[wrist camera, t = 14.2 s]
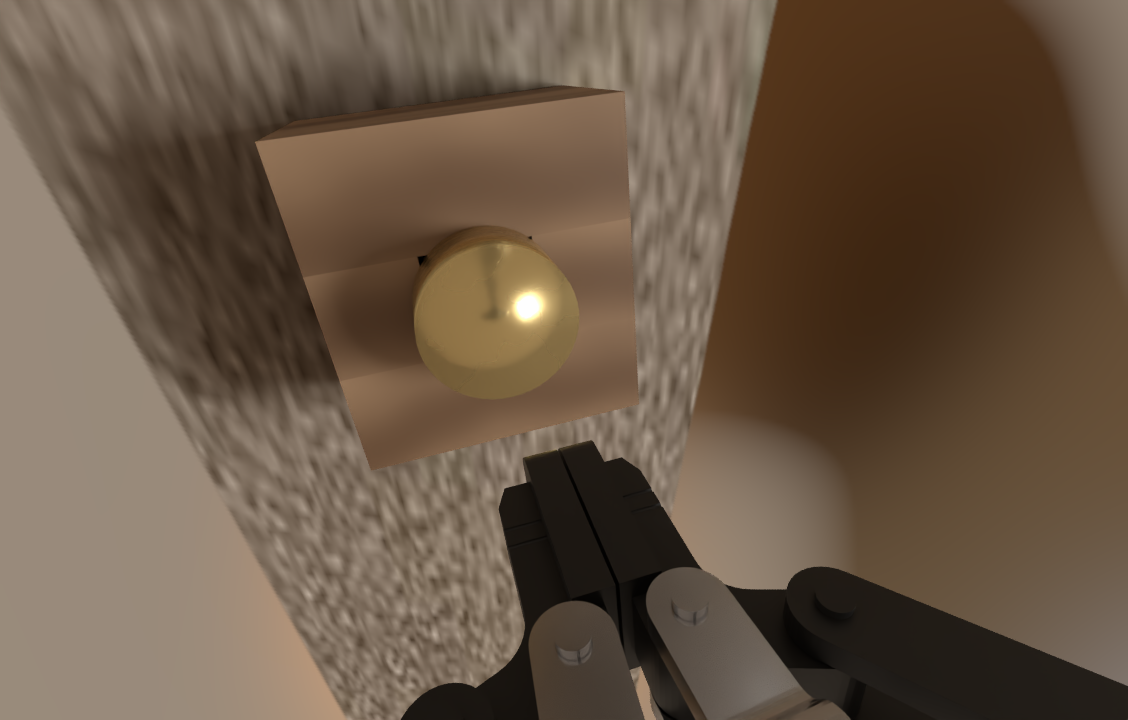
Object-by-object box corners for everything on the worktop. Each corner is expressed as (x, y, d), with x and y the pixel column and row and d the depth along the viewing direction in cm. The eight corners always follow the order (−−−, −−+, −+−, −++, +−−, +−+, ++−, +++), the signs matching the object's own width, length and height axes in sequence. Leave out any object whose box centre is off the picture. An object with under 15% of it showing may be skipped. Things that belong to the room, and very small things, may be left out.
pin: (394, 199, 25) (395, 264, 17) (514, 180, 26) (571, 232, 18) (422, 311, 28) (435, 415, 20) (529, 290, 29) (585, 379, 21)
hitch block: (294, 120, 24) (254, 142, 17) (563, 85, 26) (624, 91, 19) (375, 379, 30) (371, 470, 23) (586, 333, 32) (638, 404, 25)
